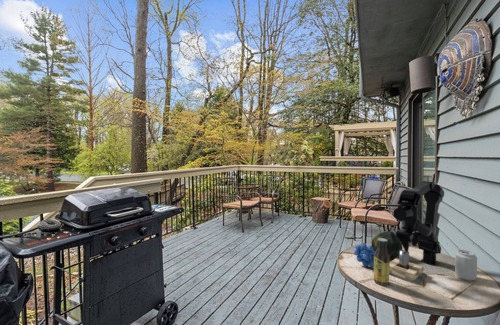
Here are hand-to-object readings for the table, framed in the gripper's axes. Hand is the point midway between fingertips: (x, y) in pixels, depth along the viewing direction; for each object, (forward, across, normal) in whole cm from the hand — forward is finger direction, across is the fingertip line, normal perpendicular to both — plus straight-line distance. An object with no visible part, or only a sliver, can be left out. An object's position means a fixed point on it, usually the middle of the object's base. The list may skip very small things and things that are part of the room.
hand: (410, 248), depth 119 cm
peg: (+11, -4, +2) cm, 12 cm away
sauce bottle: (+12, -20, +4) cm, 23 cm away
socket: (+12, -4, +2) cm, 13 cm away
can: (+12, +14, -17) cm, 26 cm away
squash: (+12, +12, +17) cm, 24 cm away
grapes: (+12, -11, +16) cm, 23 cm away
